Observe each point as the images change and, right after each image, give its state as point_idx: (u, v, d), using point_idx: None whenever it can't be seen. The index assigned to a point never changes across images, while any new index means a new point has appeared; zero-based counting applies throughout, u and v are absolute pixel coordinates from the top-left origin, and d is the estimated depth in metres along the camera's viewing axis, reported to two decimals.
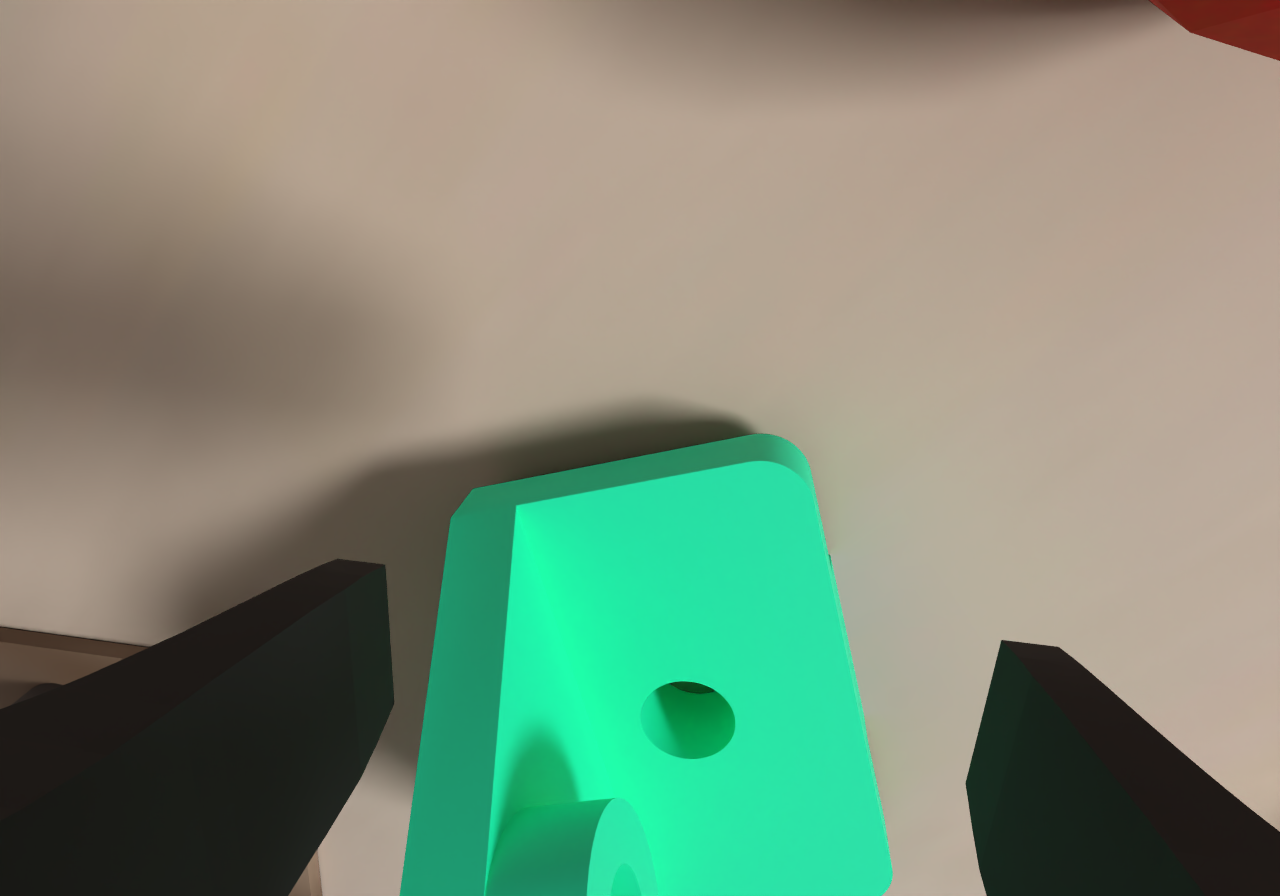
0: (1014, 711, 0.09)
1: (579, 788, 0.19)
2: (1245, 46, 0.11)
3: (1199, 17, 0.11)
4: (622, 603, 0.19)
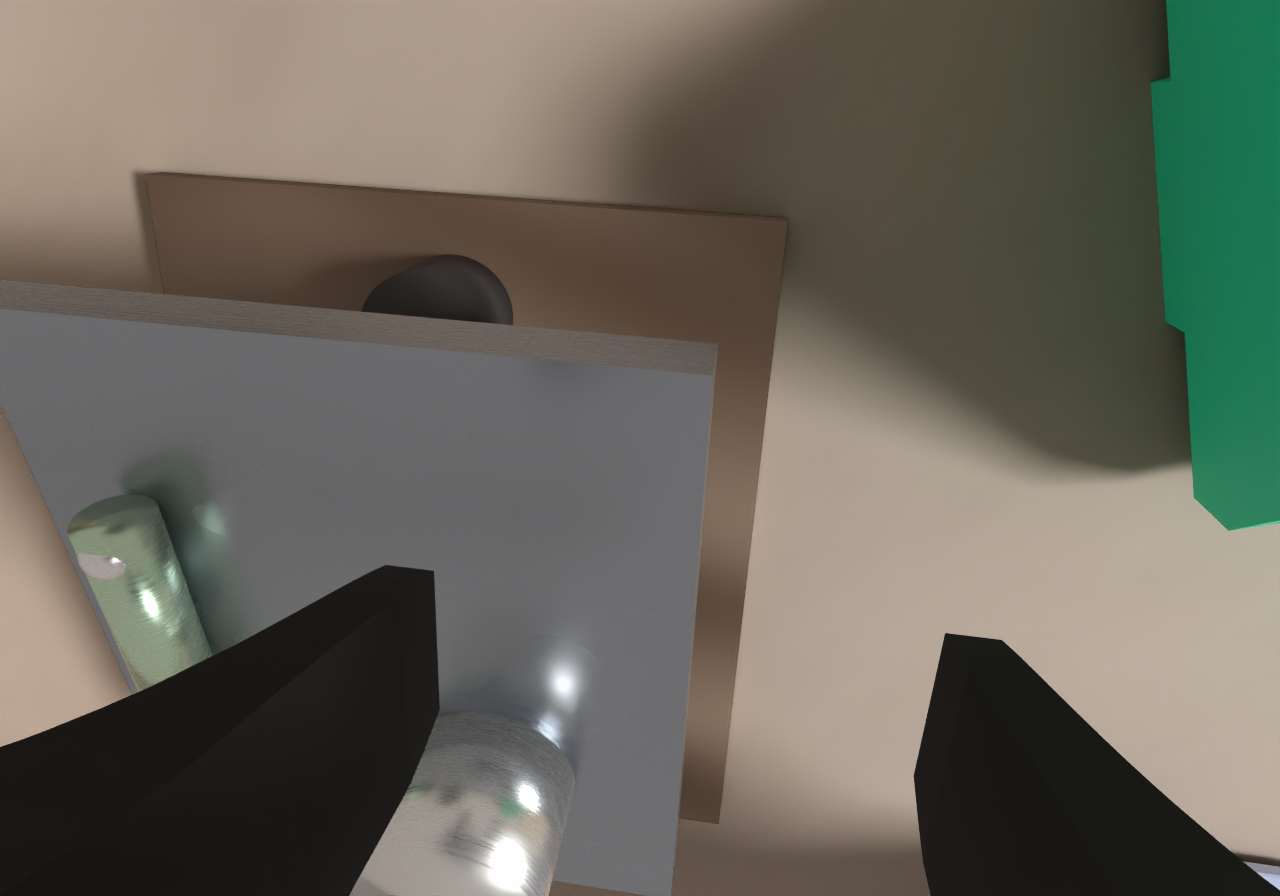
0: (954, 703, 0.09)
1: None
2: None
3: None
4: None
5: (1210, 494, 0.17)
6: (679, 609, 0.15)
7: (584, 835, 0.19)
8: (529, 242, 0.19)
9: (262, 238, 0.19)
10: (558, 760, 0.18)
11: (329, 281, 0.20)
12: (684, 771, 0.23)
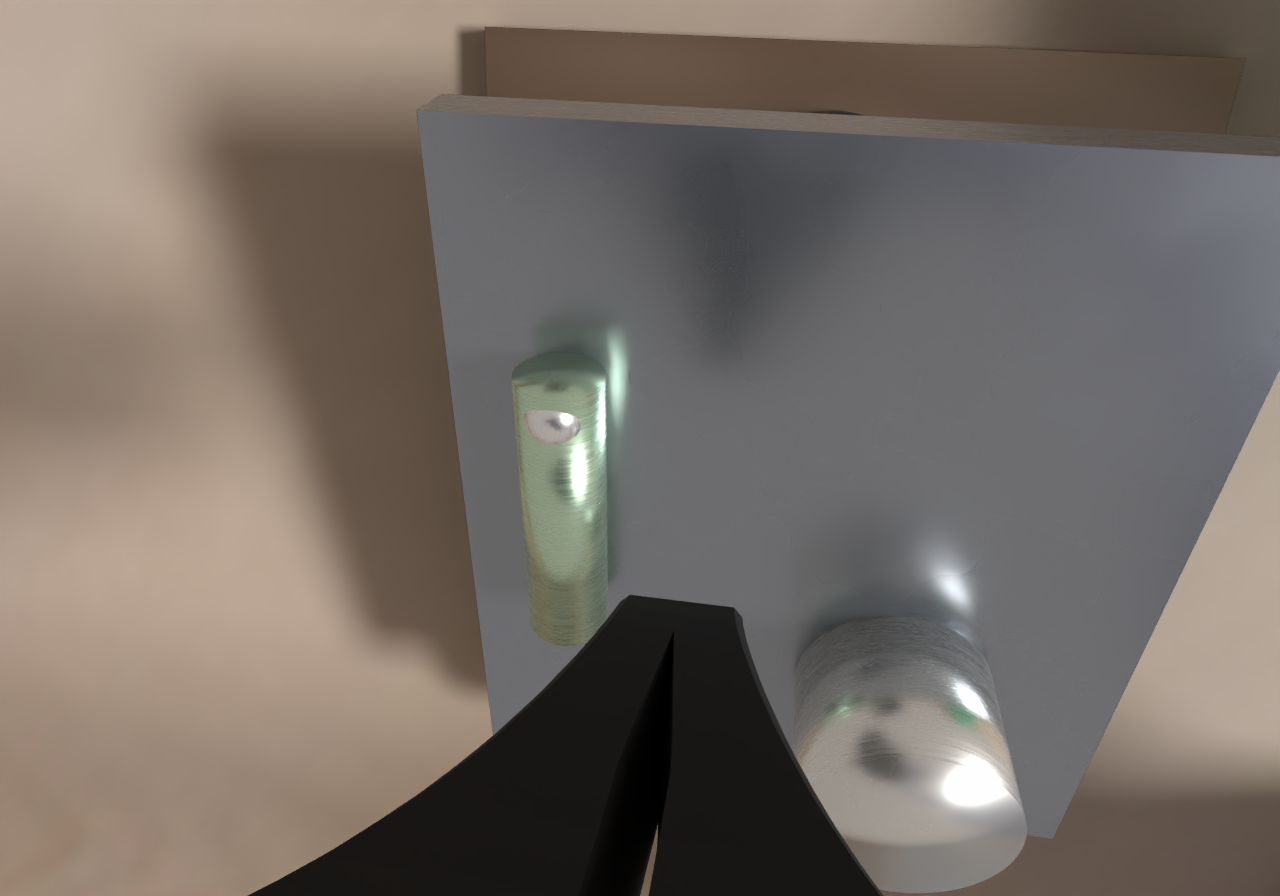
0: None
1: None
2: None
3: None
4: None
5: None
6: (1209, 477, 0.13)
7: None
8: (929, 93, 0.17)
9: (612, 98, 0.17)
10: (988, 670, 0.16)
11: None
12: None
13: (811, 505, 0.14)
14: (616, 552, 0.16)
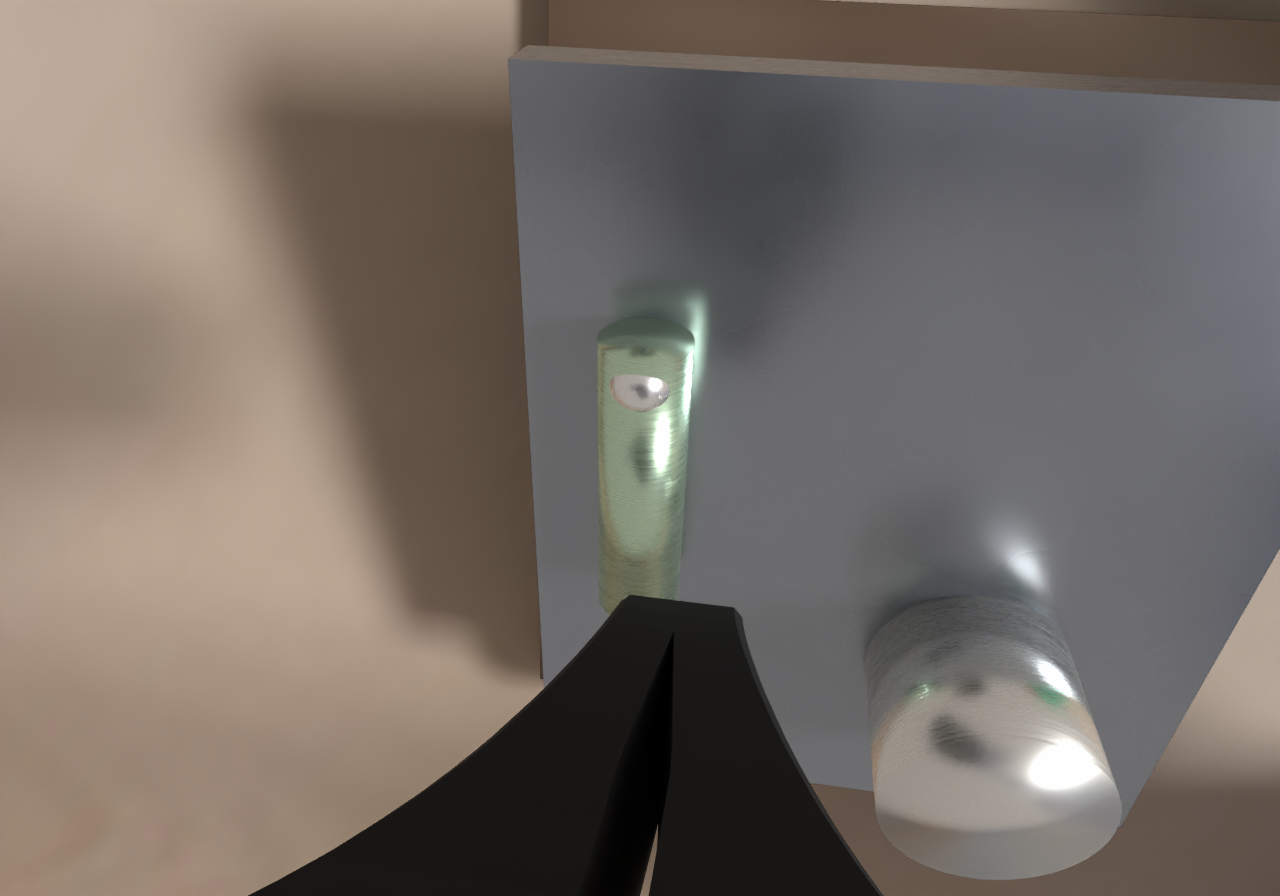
0: None
1: None
2: None
3: None
4: None
5: None
6: None
7: None
8: (1008, 59, 0.16)
9: None
10: (1069, 652, 0.15)
11: None
12: None
13: (896, 479, 0.14)
14: (687, 528, 0.15)
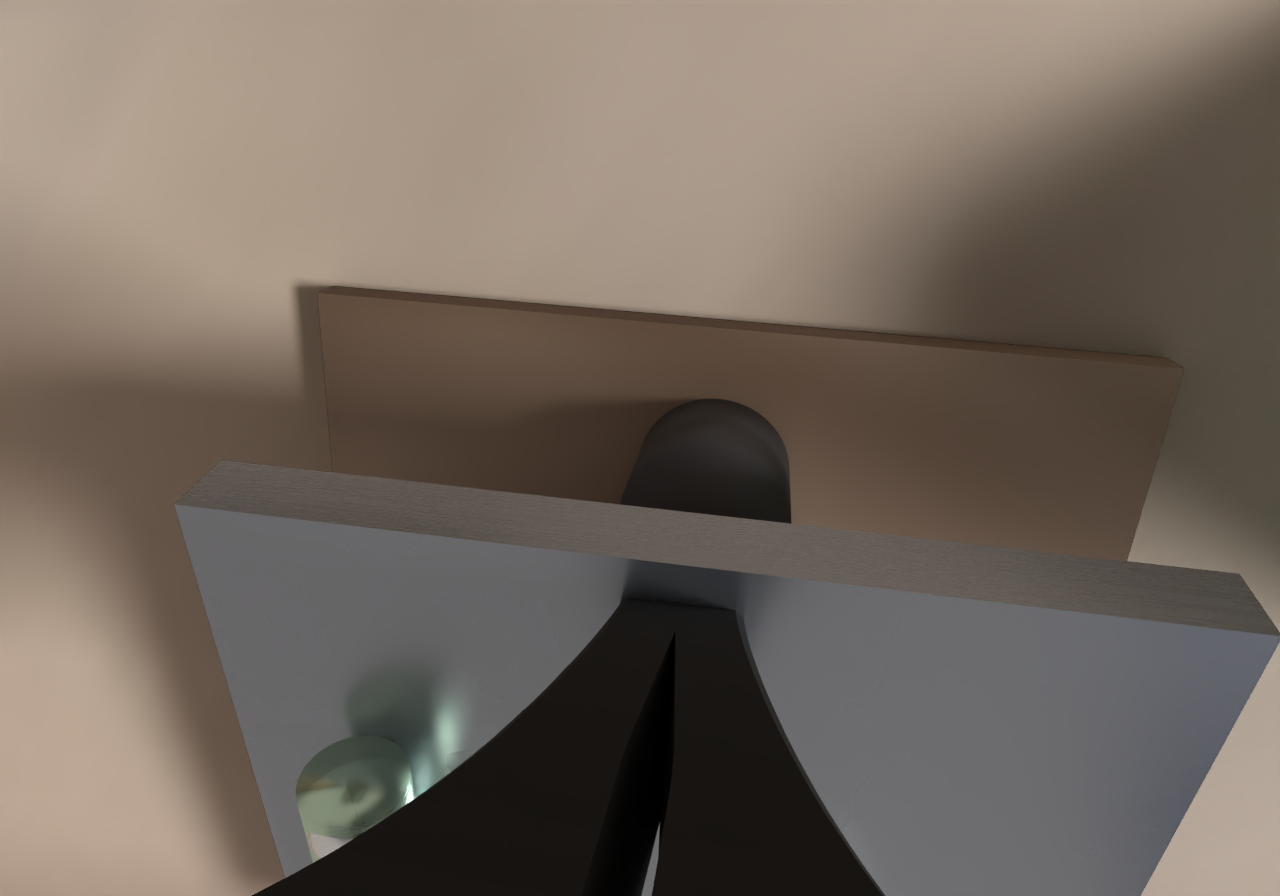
0: None
1: None
2: None
3: None
4: None
5: None
6: None
7: None
8: (822, 386, 0.14)
9: (465, 373, 0.15)
10: None
11: (548, 427, 0.15)
12: None
13: None
14: None
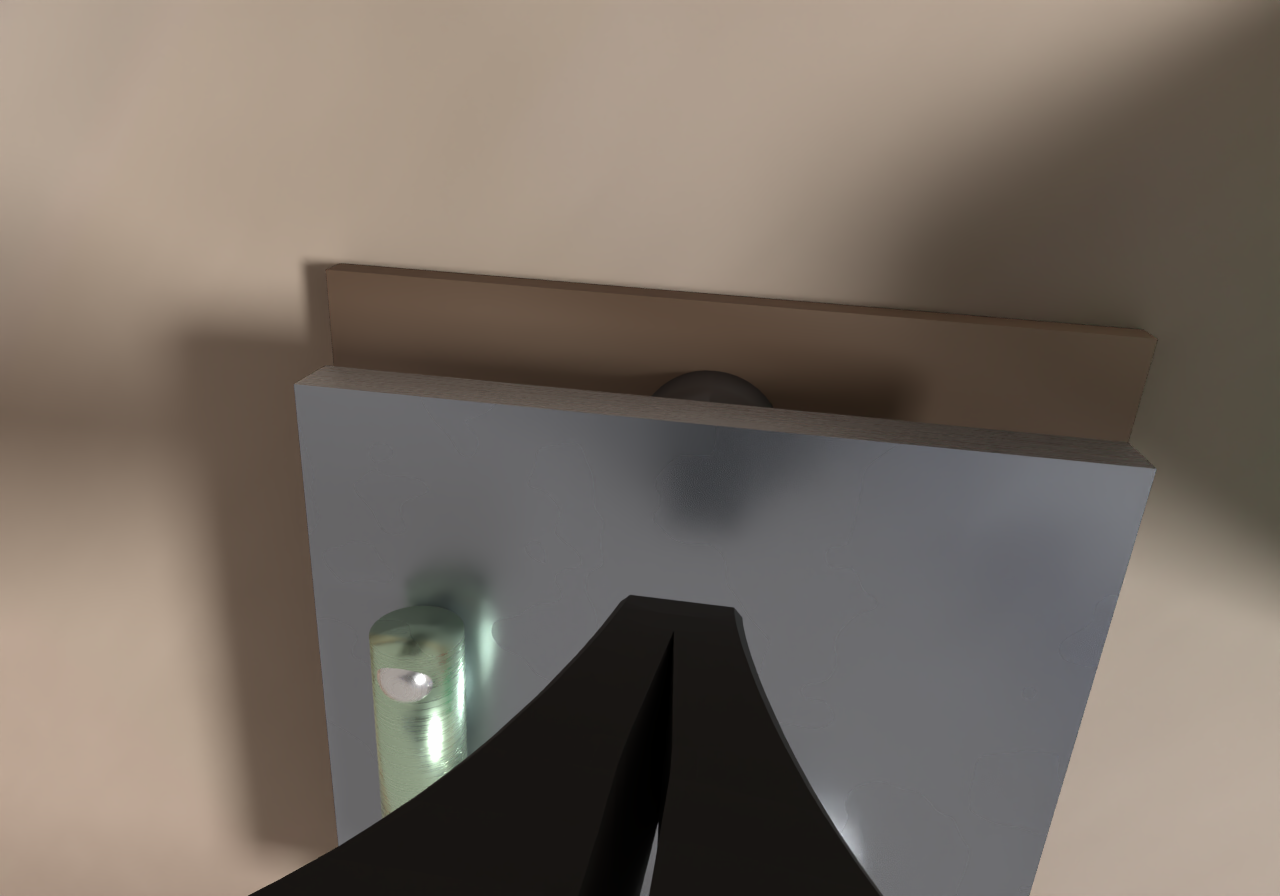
0: None
1: None
2: None
3: None
4: None
5: None
6: (1055, 750, 0.13)
7: None
8: (813, 358, 0.15)
9: (469, 347, 0.16)
10: None
11: None
12: None
13: None
14: None
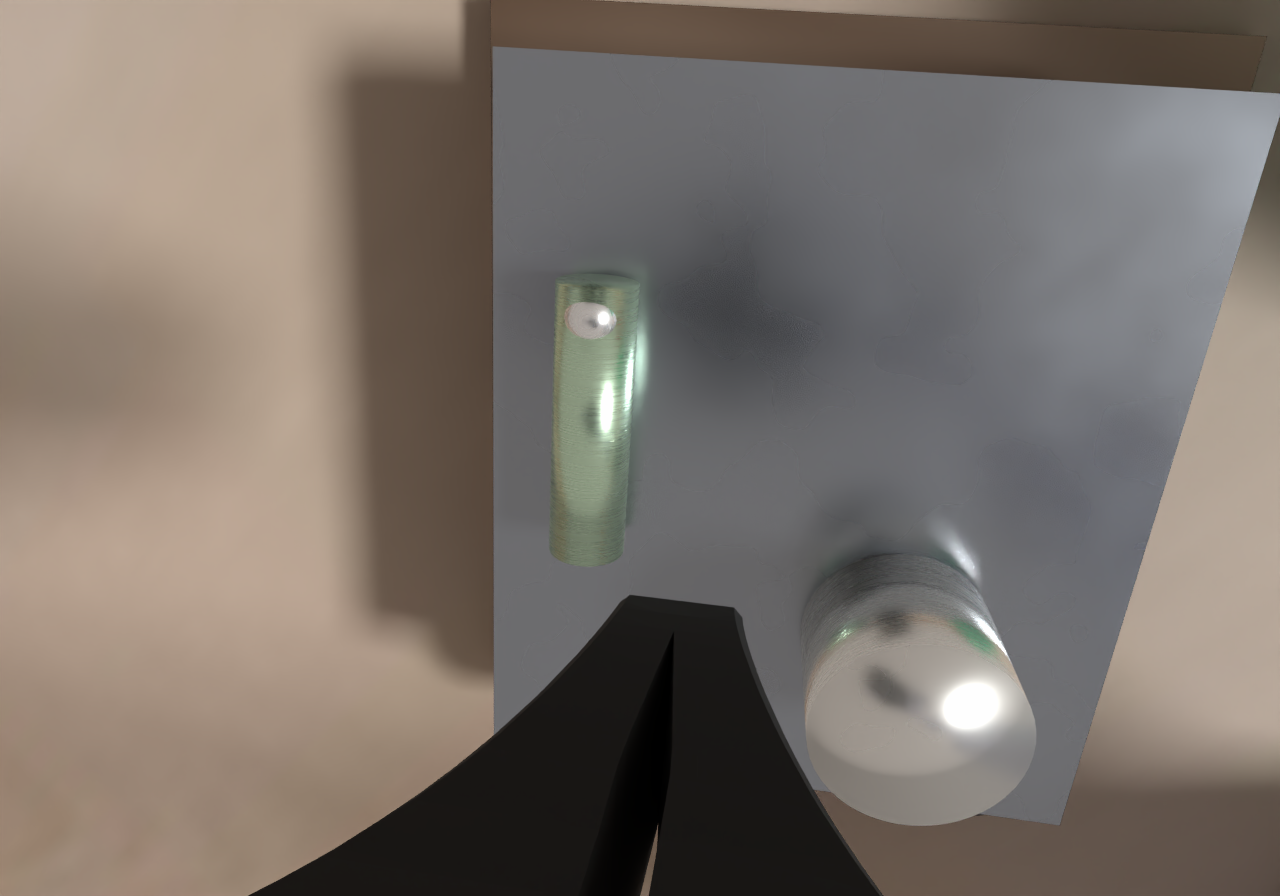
0: None
1: None
2: None
3: None
4: None
5: None
6: (1177, 395, 0.15)
7: None
8: (945, 68, 0.16)
9: None
10: (988, 610, 0.16)
11: None
12: None
13: (819, 430, 0.16)
14: (634, 486, 0.17)
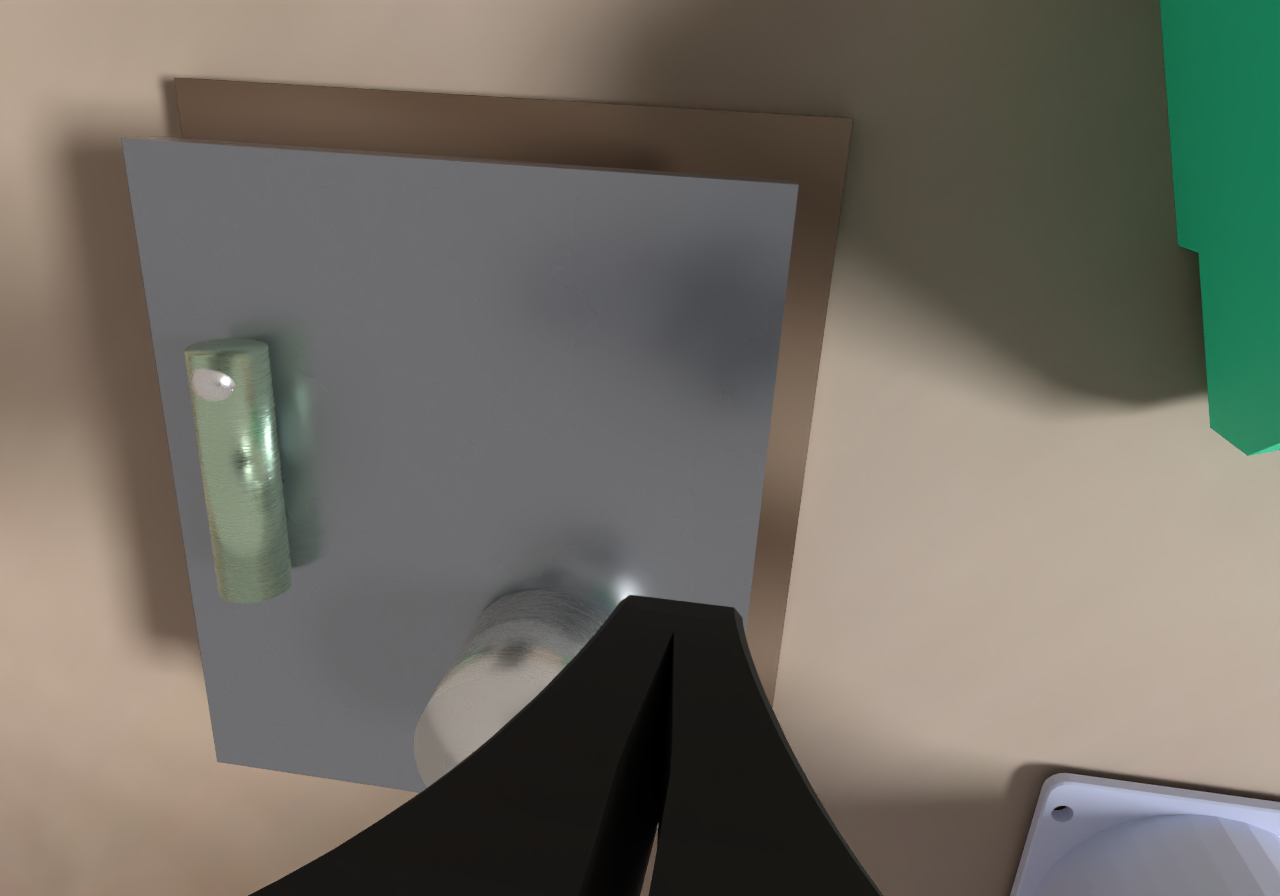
0: None
1: None
2: None
3: None
4: None
5: (1228, 421, 0.17)
6: (754, 448, 0.16)
7: None
8: (578, 145, 0.18)
9: (296, 145, 0.18)
10: None
11: None
12: None
13: (454, 479, 0.17)
14: (303, 528, 0.18)
